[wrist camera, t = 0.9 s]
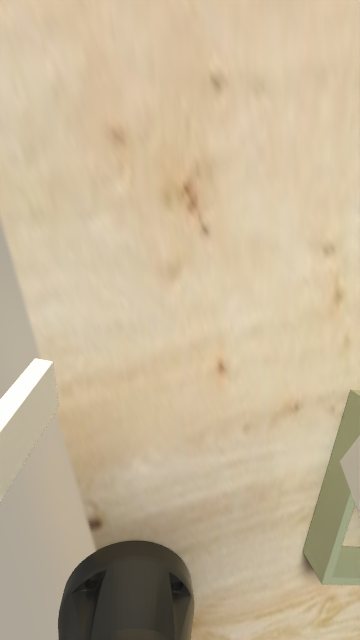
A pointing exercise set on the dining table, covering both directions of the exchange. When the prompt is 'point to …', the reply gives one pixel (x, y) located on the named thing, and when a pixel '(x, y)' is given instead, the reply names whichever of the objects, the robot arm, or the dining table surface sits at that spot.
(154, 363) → the dining table surface
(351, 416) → the case
